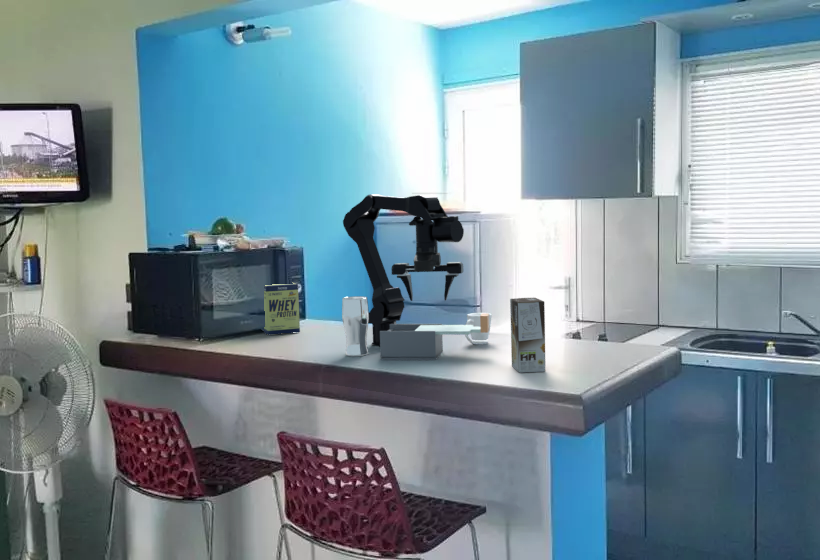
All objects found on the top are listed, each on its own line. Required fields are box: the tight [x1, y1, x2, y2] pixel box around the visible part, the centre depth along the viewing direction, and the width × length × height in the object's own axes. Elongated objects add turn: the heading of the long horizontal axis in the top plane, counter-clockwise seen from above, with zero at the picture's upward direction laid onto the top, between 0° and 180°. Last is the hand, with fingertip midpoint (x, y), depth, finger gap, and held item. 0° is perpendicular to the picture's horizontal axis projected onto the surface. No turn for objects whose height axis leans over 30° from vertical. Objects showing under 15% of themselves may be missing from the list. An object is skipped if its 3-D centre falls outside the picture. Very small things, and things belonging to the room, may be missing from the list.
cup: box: [464, 312, 493, 345], centre depth 221 cm, size 7×10×8 cm
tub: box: [379, 323, 444, 361], centre depth 206 cm, size 14×13×7 cm
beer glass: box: [341, 295, 370, 357], centre depth 210 cm, size 7×7×15 cm
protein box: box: [263, 282, 301, 336], centre depth 257 cm, size 10×16×16 cm
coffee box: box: [509, 297, 546, 373], centre depth 184 cm, size 9×6×16 cm
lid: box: [415, 312, 490, 336], centre depth 204 cm, size 18×11×4 cm, turn 80°
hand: (428, 300), depth 215 cm, fingers open, 9 cm apart
